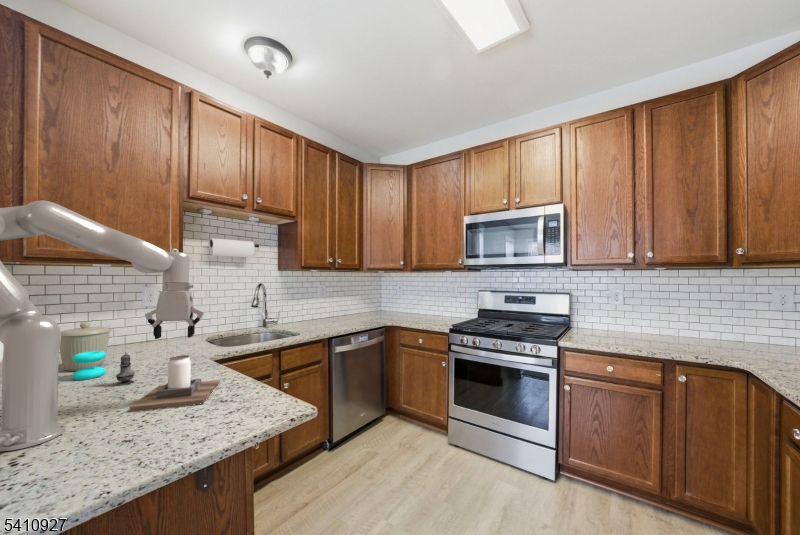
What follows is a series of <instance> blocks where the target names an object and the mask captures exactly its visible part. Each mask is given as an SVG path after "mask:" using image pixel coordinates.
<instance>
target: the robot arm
mask: <svg viewBox="0 0 800 535" xmlns="http://www.w3.org/2000/svg"><path fill="white" fill-rule="evenodd" d="M42 235H45V236H48V237H50V238H53V239H56V240H58V241H61V242H64V243H67V244H69V245H72V246H73V247H76V248H79V249H81V250H82V251H83V250H84V251H86V252H89V253H92V254H95V255H101V256H108V257H113V258H116V259H121V260H123V261H126V262H129V263H131V266H132V267H133V268H134V269H135V270H136V271H137V272H140V273H144V274H154V273H158V274H159V273H162V286H161V291H160V292H159V294H158V299H157V304H156V308H155V309H153V310H151V311H149V312H146V313H145V314H144V317H145V318H146V320H147V323H149V324H150V325H151V327H152V328H153V337H154V340H157V339H160V338H161V337H162V326H161V325H162V323H163V322H181V321H182V322H184V321H186V323H187V324H188V326H187V338H188V339H189V338H193V336H194V335H195V331H196V330H195V328H196V326H195V325H197V323H199V322H200V321H201V319H202V317H203V316H204V314H205V312H203V311H201V310H199V309H196V308H194V298H193V294H192V291H190V289H194V284H191V283H190V261H191V260H190V259H191V258H190V254H189V253H186V252H180V251H167V250H164V248H163V249H162V248H161V247H158V246H156V245H154V244H153V243H150V242H148V241H146V240H143V239H141V238H138V237H136V236H134V235H130V234H127V233H124V232H122V231H119V230H117V229H115V228H111V227H109V226H106V225H104V224H102V223H100V222H97V221H95V220H93V219H90V218H88V217H87V216H84V215H82V214H80V213H77V212H75V211H74V210H71V209H70V208H66V207H64V206H63V205H60V204H58V203H56V202H52V201H48V200H35V201H31V202H29V203H26V204H25V205H18V206H7V207H0V241H7V240H8V241H9V240H17V239H22V238H23V239H24V238H29V237H35V236H42ZM194 314H195V315H196V317H195V316H194ZM153 315H155V318H153ZM194 317H195V318H194ZM155 319H156V320H155ZM61 332H62V331H61V327H60V326H59V324H58V323H57V322H56V321H55V320H53V319H52V318H50V317H47V316H44V315H43V314H42V313H41V311H39V309H38V308H37V307H36V306H35V304H34V303H33V302H32V301H31V300H30V294H29V291H28V290H27V289H26V288H25V287H24V286H23V285H22V284H21V283H20V282H19V281H18V280H17V279H16V278H15V276H13V274H12V273H11V272H10V271H9V270H8V268H7V267H6V266H5V265H4V263H3V262H2V261H1V260H0V342H1V343H2V344H3V352H2V353H3V354H2V363H1V364H2V366H1V412H0V416H1V417H0V452H10V451H15V450H16V451H17V450H21V449H25V448H29V447H33V446H36V445H39V444H43V443H46V442H48V441H51V440H53V439H55V438H57V437H59V436H60V435H62V434H63V433H65V431H66V427H67V426H66V424H64V423H63V422H61V423H60V422H58V418H59V417H58V411H59V410H58V408H59V407H58V406H59V361H60V360H59V358H60V343H61Z"/></svg>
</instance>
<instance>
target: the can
mask: <svg viewBox="0 0 800 535" xmlns="http://www.w3.org/2000/svg"><path fill="white" fill-rule="evenodd" d="M191 363H192V362H191V359H190V355H187V354H184V355H183V354H182V355H176V356H172V357H170V358H169V361H168V364H167V383H168V389H176V388H187V387H189V386H190V381H191V380H192V379H191V372H192V370H191V369H192V368H191V365H192V364H191Z"/></svg>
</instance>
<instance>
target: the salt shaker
mask: <svg viewBox="0 0 800 535" xmlns="http://www.w3.org/2000/svg"><path fill="white" fill-rule="evenodd" d="M131 365H132V363H131V355H130V354H127V352H124V355H123V354H122V355H121V356H120V364H119V369H120V370H119V373H117V374H116V375H115V378H116V380H117V381H118V382H117V383H116V386H117V387H118V386H119V387H121V386H122V387H123V386H128V385H132V384H133V383H135V381H134V380H133V378H134V376H135V374H136V372H135V371H132V369H131ZM131 383H132V384H131Z"/></svg>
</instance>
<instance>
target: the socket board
mask: <svg viewBox="0 0 800 535" xmlns="http://www.w3.org/2000/svg"><path fill="white" fill-rule="evenodd" d="M219 383H220V384H221V381H220V379H216V380H207V381H202V378H197V379H196V378H195V379H191V381H190V386H189V387H187V388H176V389H168V382H167V383H165V384H162V385H161V384H160V385H158V386H157V387H155V388H154V389H153V390H151V391H150V392H148V393H147V394H145V395H144V396H142V397H141V398H140V399H139V400H137V401H136V402H135V403H134V404H132V405H130V406H129V412H130V413H132V412H131V411H134V412H141V411H140V410H143V411H150V410H149V409H153V410H159V409H158V408H162V409H168V408H167V407H172V408H176V407H175V406H181V407H186V406H185V405H191V406H194V405H193V404H200V403H204V402H205V401H206V402H207V400H208V399H209V398H210V397H211V395H212V394H213V393H214V392H213V390H214V389H215V388H216V387H217V386H218V384H219ZM218 387H219V386H218ZM218 387H217V388H218ZM217 388H216V389H217ZM216 389H215V390H216ZM212 392H213V393H212ZM211 393H212V394H211ZM210 394H211V395H210ZM209 396H210V397H209ZM208 397H209V398H208ZM207 398H208V399H207ZM206 399H207V400H206ZM206 402H205V403H206ZM205 403H204V404H205ZM200 405H201V404H200Z"/></svg>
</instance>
